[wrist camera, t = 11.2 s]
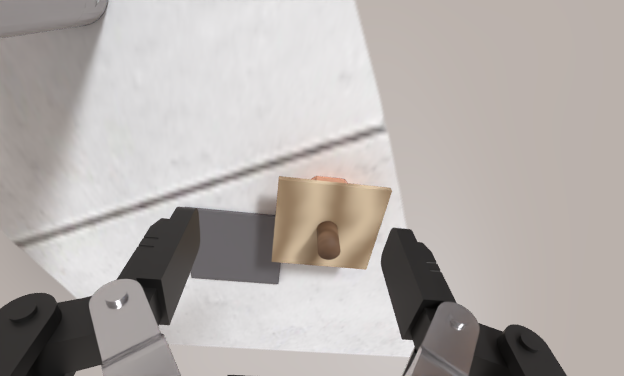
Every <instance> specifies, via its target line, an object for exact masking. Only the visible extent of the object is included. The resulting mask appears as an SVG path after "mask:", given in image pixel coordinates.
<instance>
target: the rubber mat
mask: <svg viewBox="0 0 624 376" xmlns="http://www.w3.org/2000/svg"><path fill="white" fill-rule="evenodd" d="M186 208H191V207H186ZM197 209H198V212H199V225H200V247H199V251H198V254H197V256H196V259H195V261H194V264H193V266H192V269H191V275H192V278H201V279H215V280H228V281H242V282H255V283H268V284H278V282H279V273H280V264H281V263H280V262H272V251H273V239H274V228H275V215H265V214H254V213H244V212H233V211H222V210H212V209H201V208H197Z"/></svg>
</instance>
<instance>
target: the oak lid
mask: <svg viewBox="0 0 624 376" xmlns="http://www.w3.org/2000/svg"><path fill="white" fill-rule="evenodd" d="M391 192H392V190H391V188H386V187H377V186H367V185H358V184H348V183H339V182H329V181H320V180H310V179H301V178H291V177H282V176H279V182H278V193H277V205H276V216H275V228H274V239H273V251H272V262H280V263H293V264H305V265H318V266H330V267H342V268H355V269H366V268H367V265H368V262H369V259H370V256H371V253H372V250H373V247H374V244H375V241H376V238H377V235H378V232H379V229H380V226H381V223H382V220H383V217H384V214H385V211H386V208H387V205H388V202H389V198H390V195H391Z"/></svg>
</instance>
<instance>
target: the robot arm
mask: <svg viewBox="0 0 624 376" xmlns="http://www.w3.org/2000/svg"><path fill="white" fill-rule="evenodd" d="M107 1H108V0H0V38H6V37H13V36H19V35H26V34H32V33H38V32H45V31H51V30H58V29H65V28H71V27H78V26H84V25H88V24H91V23H93V22H95V21H96V20H97V19H99V18H100V17H101V15H102V14H103V13H104V11H105V8H106V5H107ZM199 247H200V225H199V212H198V209H197V208H186V207H177V208H176V209H175V211H174V213H173V214H172V216H171V218H170V219H164V218H161V219H160V220H159V221H157V222H156V223H154V224H153V225H152V226H150V228H149V230H148V231H147V233H146V234H145V236H144V239H142V241H141V242H140V244H139V247H137V248H136V250H135V252H134V253H133V255H132V256H131V258H130V259H129V261H128V263H127V264H126V266H125V267H124V269H123V270H122V272H121V274H120V275H119V277H118V278H117V280H115V281H112V282H109V283H107V284H105V285H103V286H102V287H100V288H99V289H98V290H97V291H96V292H95V293H94V294H93V296H90V297H86V298H81V299H76V300H71V301H65V302H60V303H57V302H56V300H55V298H54V297H53V296H51V295H49V294H46V293H34V294H28V295H25V296H22V297H19V298H17V299H15V300H13V301H11V302H9V303H8V304H7V305H5V306H3V307H2V308H1V309H0V376H74V374H75V372H76V371H78V370H82V369H86V368H90V367H94V366H97V365H102V372H103V376H181V374H180V372H179V369H178V367H177V364H176V362H175V360H174V357H173V355H172V353H171V350H170V348H169V345H168V343H167V341H166V338H165V336H164V335H163V334H161V332H160V330H159V327H158V326H159V325H170V322H171V320H172V317H173V315H174V312H175V310H176V307H177V305H178V302H179V299H180V297H181V294H182V292H183V289H184V287H185V284H186V282H187V279H188V277H189V274H190V272H191V269H192V266H193V264H194V261H195V259H196V256H197V254H198V251H199ZM381 267H382V271H383V274H384V278H385V281H386V285H387V288H388V292H389V295H390V299H391V302H392V306H393V309H394V313H395V316H396V320H397V323H398V327H399V330H400V334H401V337H402V339H405V340H413V342H414V345H415V347H414V349H413V351H412V353H411V355H410V357H409V360H408V362H407V364H406V367H405V369H404V371H403V373H402V375H401V376H566V374H565V372H564V371H563V369H562V367H561V366H560V364H559V363H558V361H557V360H556V358H555V357H554V355H553V353H552V352H551V350H550V349H549V347H548V345H547V344H546V343H545V342H544V341H543V339H542V338H540V337H539V336H538V335H537V334H536V333H534V332H533V331H532V330H530V329H528V328H526V327H524V326H520V325H510V326H508V327H507V328H506V329H505V330H504V331H503V332H502V331H499V330H496V329H494V328H491V327H488V326H485V325H482V324H480V323H478V322H477V320H476V318H475V317H474V315H473V314H472V313H471V312H470V311H469V310H468V309H466V308H465V307H463V306H462V305H459V304H457V303H456V301H455V299H454V297H453V295H452V293H451V291H450V289H449V287H448V285H447V283H446V281H445V279H444V277H443V275H442V273H441V272H440V268H439V266H438V264H436V260H435V258H434V256H433V254H432V252H431V251H430V250H429V249H428V248H427V247H426V246H425V245H424V244H423V243H420V242H417V240H416V238H415V236H414V234H413V232H412V230H410V229H401V228H392V229H391V231H390V234H389V236H388V239H387V242H386V244H385V247H384V250H383V252H382V256H381ZM228 376H243V375H228Z"/></svg>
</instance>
